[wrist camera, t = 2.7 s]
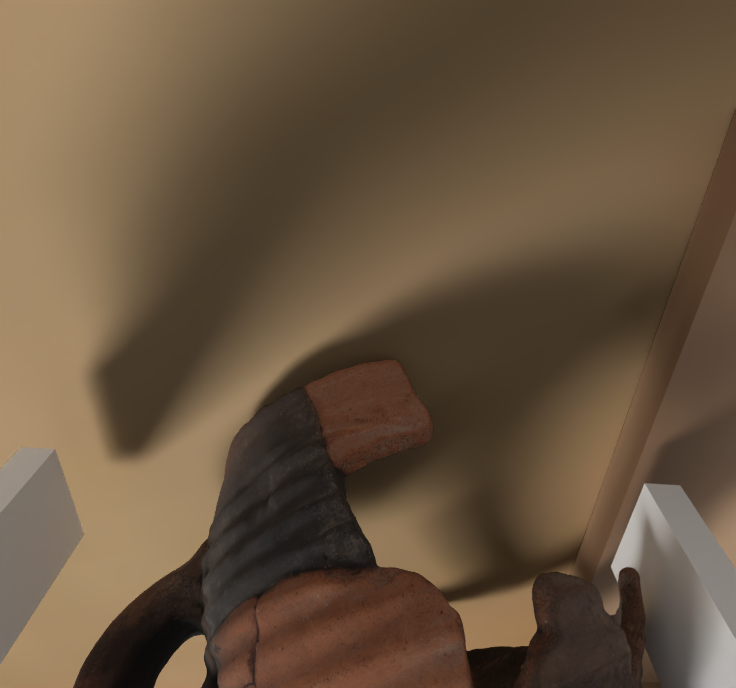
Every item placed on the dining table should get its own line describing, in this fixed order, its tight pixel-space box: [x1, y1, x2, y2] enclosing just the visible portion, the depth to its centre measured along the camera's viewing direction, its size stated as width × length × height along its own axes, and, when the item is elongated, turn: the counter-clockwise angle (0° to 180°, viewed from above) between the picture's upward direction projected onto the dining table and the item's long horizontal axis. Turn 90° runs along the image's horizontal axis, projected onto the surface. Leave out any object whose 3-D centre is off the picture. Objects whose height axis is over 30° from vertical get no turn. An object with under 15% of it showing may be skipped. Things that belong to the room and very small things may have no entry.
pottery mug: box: [73, 359, 646, 688], centre depth 12 cm, size 12×9×8 cm
